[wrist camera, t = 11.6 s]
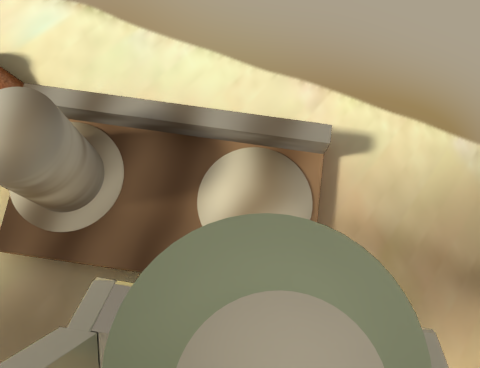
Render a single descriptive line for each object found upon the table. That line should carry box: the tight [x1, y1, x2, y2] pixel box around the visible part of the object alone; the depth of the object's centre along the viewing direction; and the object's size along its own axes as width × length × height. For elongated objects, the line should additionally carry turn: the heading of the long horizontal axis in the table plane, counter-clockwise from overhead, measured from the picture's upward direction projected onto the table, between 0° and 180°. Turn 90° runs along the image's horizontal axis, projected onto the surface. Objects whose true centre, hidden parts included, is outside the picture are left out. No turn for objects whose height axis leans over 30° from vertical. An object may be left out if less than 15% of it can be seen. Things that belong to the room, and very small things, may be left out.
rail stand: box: [0, 83, 332, 272], centre depth 31 cm, size 24×13×11 cm, turn 82°
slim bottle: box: [102, 213, 432, 368], centre depth 12 cm, size 5×5×14 cm
